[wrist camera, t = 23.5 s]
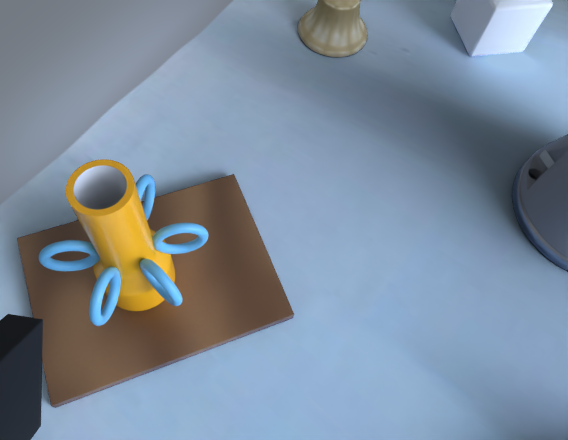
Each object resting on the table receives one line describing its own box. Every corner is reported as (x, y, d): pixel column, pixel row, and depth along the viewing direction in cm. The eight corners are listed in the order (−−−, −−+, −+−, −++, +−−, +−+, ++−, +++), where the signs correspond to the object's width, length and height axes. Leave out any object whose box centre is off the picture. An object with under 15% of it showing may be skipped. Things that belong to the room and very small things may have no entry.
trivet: (233, 179, 52) (233, 173, 51) (293, 317, 45) (294, 314, 45) (20, 242, 47) (16, 238, 46) (55, 407, 41) (51, 406, 40)
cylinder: (44, 270, 45) (-37, 174, 31) (142, 198, 49) (107, 85, 35) (136, 375, 41) (89, 316, 28) (233, 287, 45) (232, 200, 32)
